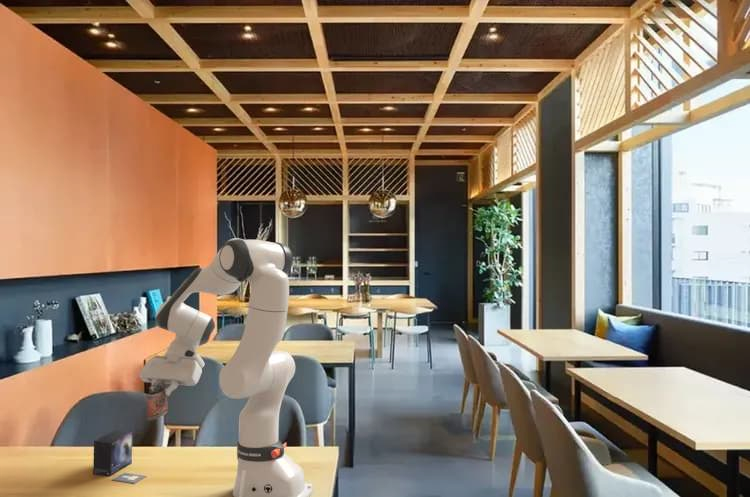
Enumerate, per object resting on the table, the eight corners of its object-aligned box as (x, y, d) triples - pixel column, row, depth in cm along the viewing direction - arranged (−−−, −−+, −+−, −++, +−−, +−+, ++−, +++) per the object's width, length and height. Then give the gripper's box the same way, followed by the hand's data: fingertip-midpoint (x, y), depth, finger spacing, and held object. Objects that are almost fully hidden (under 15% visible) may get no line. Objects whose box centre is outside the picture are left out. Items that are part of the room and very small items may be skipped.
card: (146, 476, 162) (146, 475, 162) (134, 483, 158) (134, 482, 158) (124, 473, 165) (124, 472, 165) (112, 480, 160) (112, 479, 160)
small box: (110, 476, 162) (111, 442, 162) (91, 475, 164) (92, 440, 164) (133, 463, 173) (133, 430, 173) (115, 461, 174) (115, 429, 174)
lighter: (153, 420, 163) (152, 388, 163) (144, 419, 164) (143, 387, 164) (170, 411, 171) (169, 380, 171) (161, 410, 172) (160, 379, 172)
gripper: (147, 349, 178) (126, 386, 169) (201, 353, 173) (182, 391, 163) (156, 360, 183) (136, 397, 173) (209, 364, 177) (191, 402, 168)
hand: (159, 394), depth 168 cm, fingers closed on lighter, 3 cm apart
